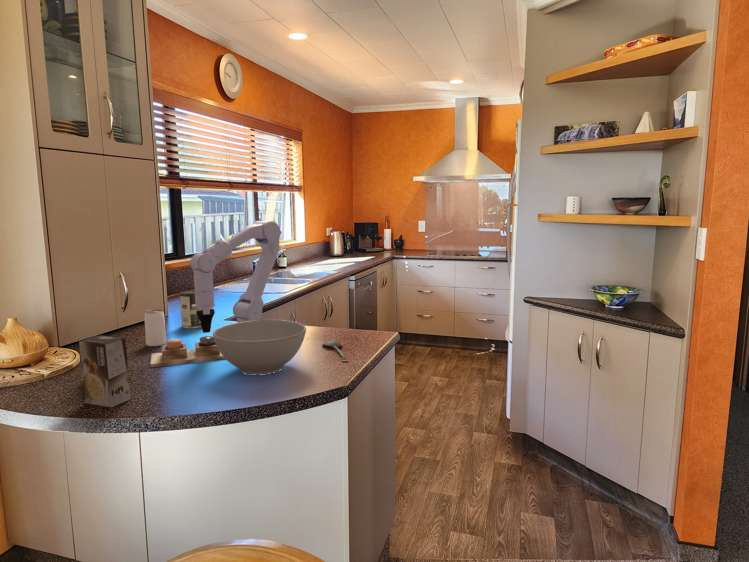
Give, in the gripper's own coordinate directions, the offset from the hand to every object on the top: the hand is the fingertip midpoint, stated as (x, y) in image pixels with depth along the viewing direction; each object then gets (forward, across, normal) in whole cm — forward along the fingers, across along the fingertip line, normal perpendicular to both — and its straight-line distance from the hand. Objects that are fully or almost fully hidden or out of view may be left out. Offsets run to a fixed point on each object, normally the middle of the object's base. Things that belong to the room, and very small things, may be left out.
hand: (206, 332), depth 168 cm
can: (+8, -22, -16) cm, 28 cm away
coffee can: (+8, -47, -2) cm, 48 cm away
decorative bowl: (+8, +21, +14) cm, 27 cm away
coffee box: (+8, +32, -26) cm, 42 cm away
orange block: (+5, 0, -10) cm, 11 cm away
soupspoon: (+8, +13, +40) cm, 43 cm away
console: (+8, 0, -5) cm, 9 cm away
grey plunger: (+5, 0, 0) cm, 5 cm away
